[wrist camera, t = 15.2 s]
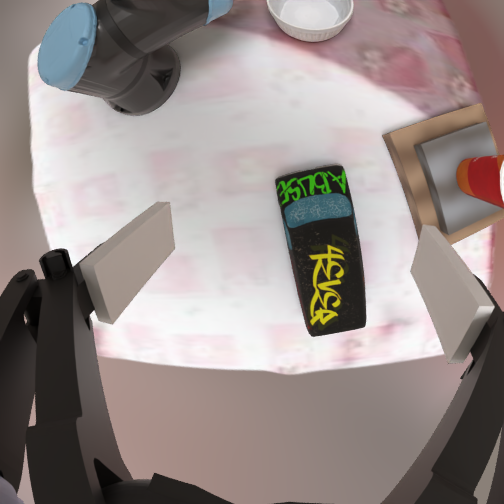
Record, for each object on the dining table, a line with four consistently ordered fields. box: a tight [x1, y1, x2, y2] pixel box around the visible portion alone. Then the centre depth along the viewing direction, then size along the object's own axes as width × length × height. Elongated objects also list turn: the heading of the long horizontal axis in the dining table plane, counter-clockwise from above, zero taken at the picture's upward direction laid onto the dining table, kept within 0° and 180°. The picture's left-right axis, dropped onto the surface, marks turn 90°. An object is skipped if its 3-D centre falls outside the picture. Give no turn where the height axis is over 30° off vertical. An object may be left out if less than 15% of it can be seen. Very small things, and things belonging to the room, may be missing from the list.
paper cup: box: [456, 155, 504, 209], centre depth 27 cm, size 8×8×14 cm
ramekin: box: [267, 0, 354, 42], centre depth 33 cm, size 13×13×7 cm
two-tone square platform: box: [382, 103, 504, 245], centre depth 36 cm, size 20×20×7 cm
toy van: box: [275, 164, 366, 337], centre depth 42 cm, size 11×25×10 cm, turn 14°
